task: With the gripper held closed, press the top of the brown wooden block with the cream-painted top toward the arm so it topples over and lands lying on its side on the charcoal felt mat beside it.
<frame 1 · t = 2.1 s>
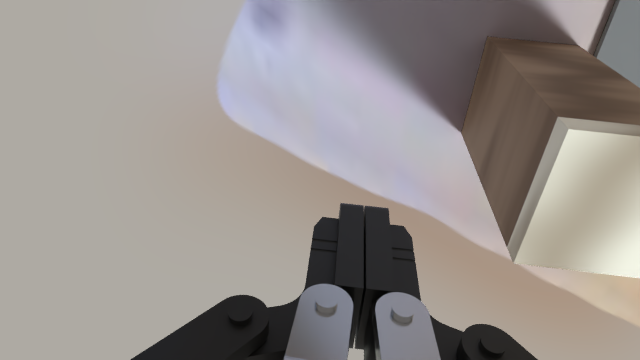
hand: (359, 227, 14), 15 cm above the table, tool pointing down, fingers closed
brown wooden block: (516, 92, 27), on the table
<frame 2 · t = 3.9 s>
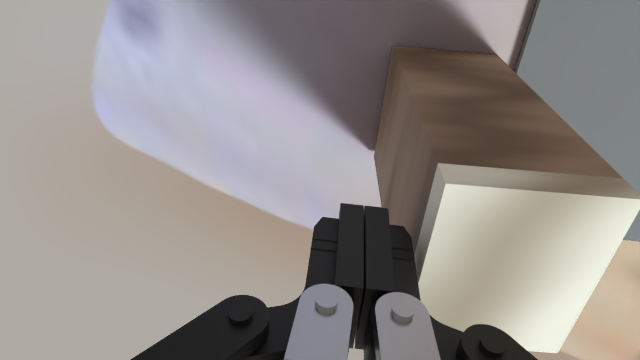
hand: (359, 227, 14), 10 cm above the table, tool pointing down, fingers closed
brown wooden block: (431, 108, 23), on the table, touching gripper
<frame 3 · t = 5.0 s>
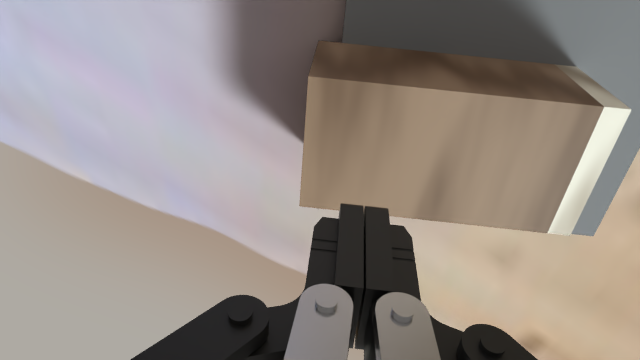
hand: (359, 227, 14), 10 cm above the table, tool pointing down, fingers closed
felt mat: (487, 115, 23), on the table
brown wooden block: (309, 121, 21), point 3 cm above the table, tilted 90°, touching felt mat
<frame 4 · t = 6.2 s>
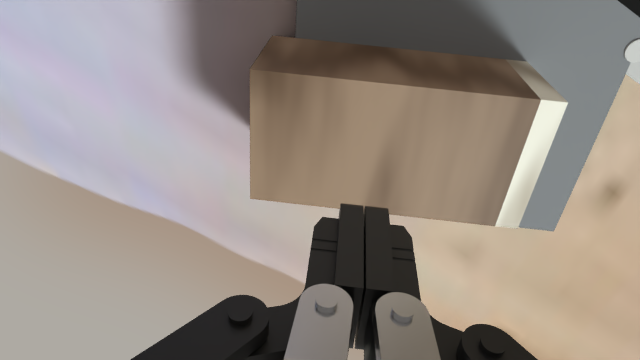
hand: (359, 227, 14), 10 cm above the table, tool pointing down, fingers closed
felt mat: (443, 110, 23), on the table
brown wooden block: (261, 115, 21), point 3 cm above the table, tilted 90°, touching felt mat
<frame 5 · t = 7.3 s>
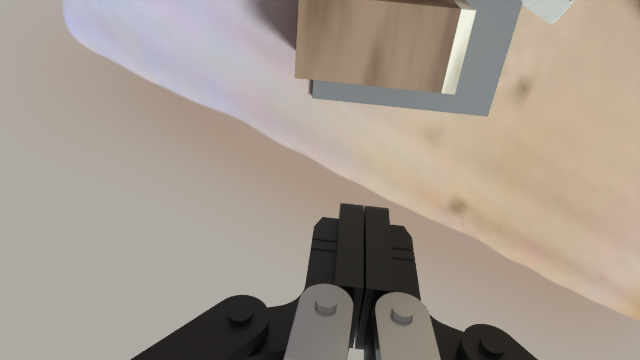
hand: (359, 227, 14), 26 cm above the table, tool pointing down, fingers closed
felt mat: (413, 30, 36), on the table
brown wooden block: (300, 28, 34), point 3 cm above the table, tilted 90°, touching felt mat
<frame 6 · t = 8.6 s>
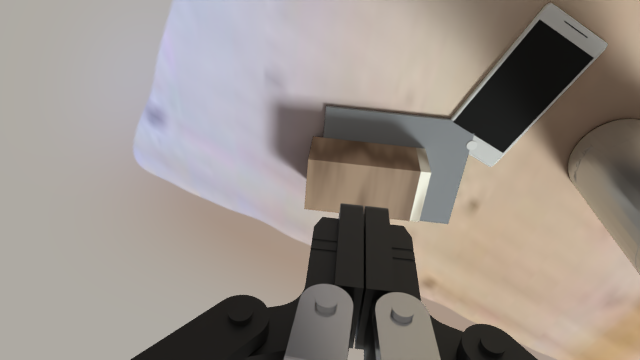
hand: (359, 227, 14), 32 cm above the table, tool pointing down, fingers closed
smartphone: (515, 89, 45), on the table
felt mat: (390, 167, 50), on the table
brown wooden block: (308, 172, 47), point 3 cm above the table, tilted 90°, touching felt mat
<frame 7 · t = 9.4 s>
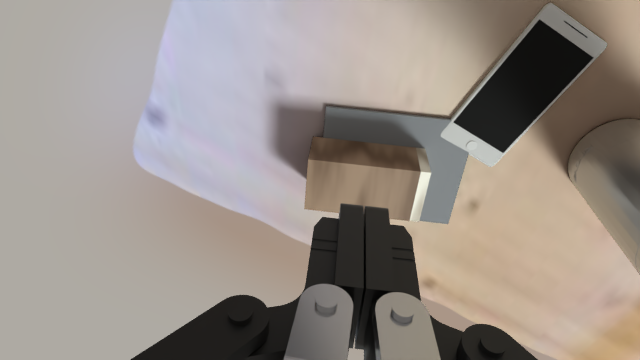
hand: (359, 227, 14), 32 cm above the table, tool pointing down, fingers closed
smartphone: (514, 89, 45), on the table
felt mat: (390, 167, 50), on the table
brown wooden block: (308, 172, 47), point 3 cm above the table, tilted 90°, touching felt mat
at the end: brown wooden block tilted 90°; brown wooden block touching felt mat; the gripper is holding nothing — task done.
